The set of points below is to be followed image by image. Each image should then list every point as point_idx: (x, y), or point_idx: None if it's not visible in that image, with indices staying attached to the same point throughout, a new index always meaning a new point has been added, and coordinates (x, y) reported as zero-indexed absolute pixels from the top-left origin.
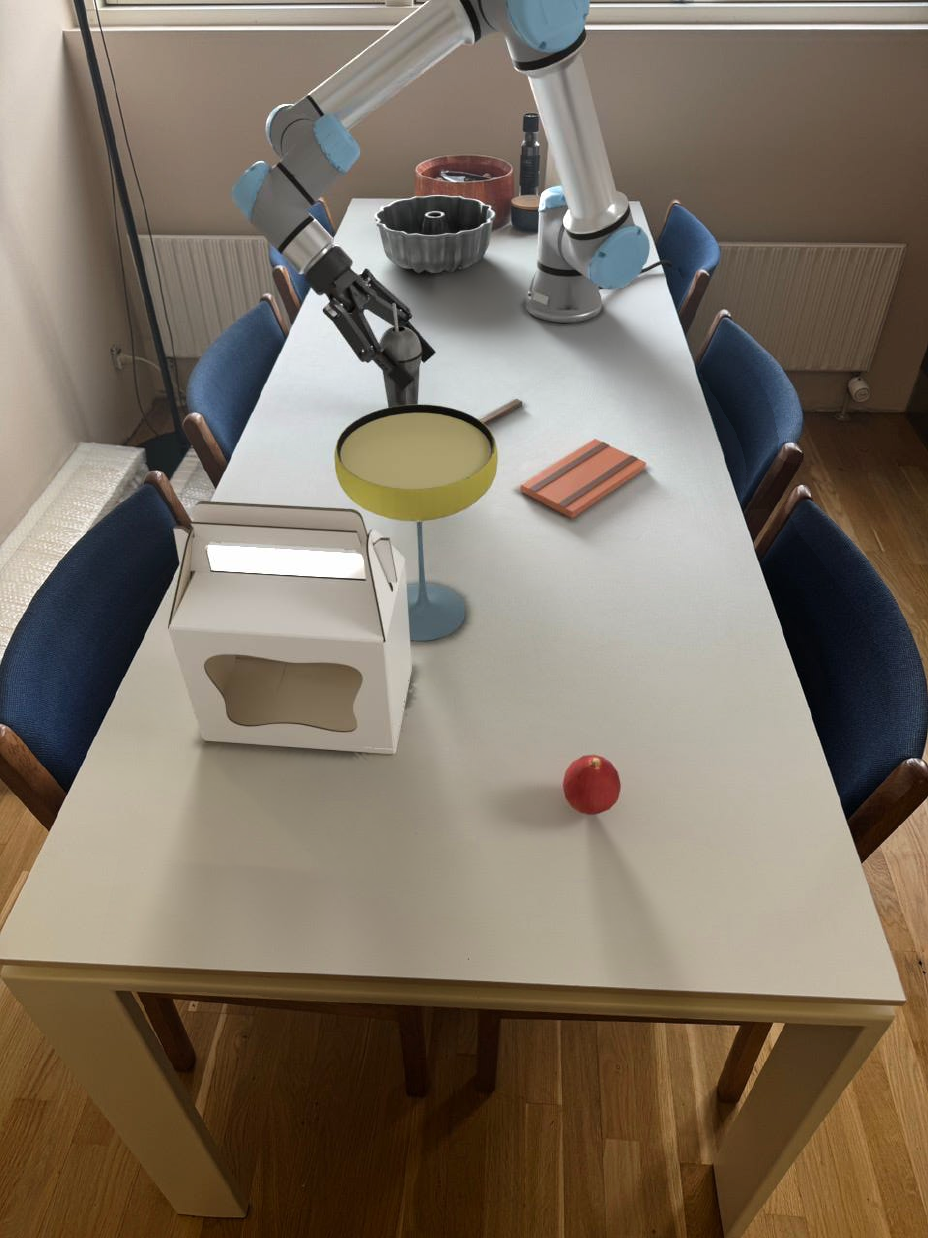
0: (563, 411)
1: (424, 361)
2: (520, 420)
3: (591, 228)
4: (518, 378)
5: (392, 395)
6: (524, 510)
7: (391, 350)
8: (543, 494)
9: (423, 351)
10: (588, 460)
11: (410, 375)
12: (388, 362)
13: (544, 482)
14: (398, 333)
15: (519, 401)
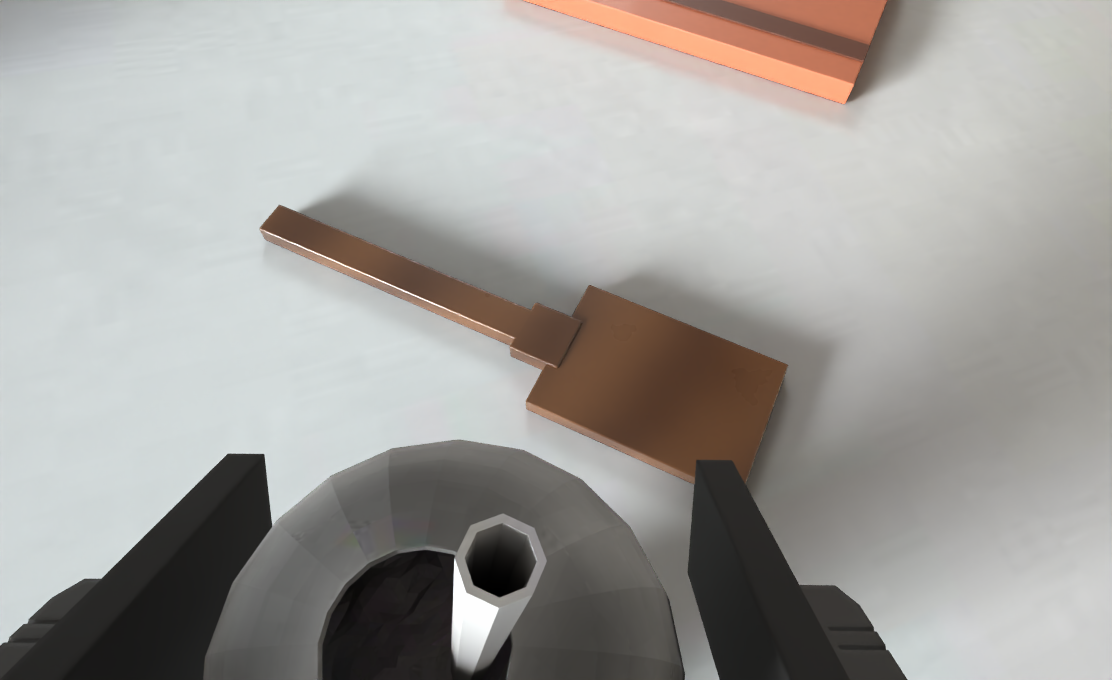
0: (307, 94)
1: None
2: (404, 197)
3: None
4: (39, 281)
5: None
6: (929, 78)
7: (673, 667)
8: (867, 27)
9: (243, 545)
10: None
11: (711, 477)
12: (834, 635)
13: (809, 33)
14: (533, 600)
15: (282, 213)
